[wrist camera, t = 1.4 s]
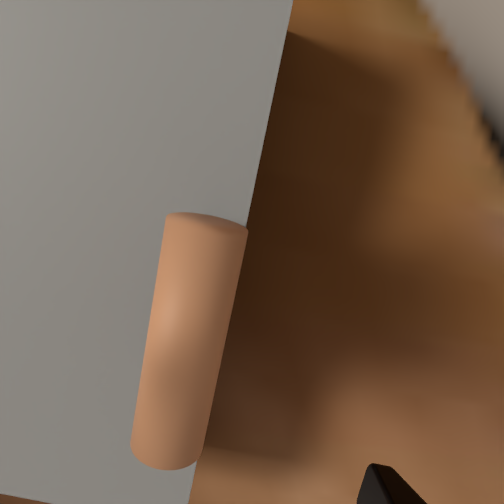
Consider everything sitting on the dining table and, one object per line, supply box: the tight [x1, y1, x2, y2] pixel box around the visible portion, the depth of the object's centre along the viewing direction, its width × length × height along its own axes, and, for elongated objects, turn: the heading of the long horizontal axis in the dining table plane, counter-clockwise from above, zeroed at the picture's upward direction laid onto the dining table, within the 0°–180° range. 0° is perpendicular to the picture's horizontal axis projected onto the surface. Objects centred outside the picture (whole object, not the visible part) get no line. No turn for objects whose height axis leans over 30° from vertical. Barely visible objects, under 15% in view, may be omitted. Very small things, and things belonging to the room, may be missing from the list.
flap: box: [0, 0, 293, 504], centre depth 14 cm, size 20×12×5 cm, turn 168°
